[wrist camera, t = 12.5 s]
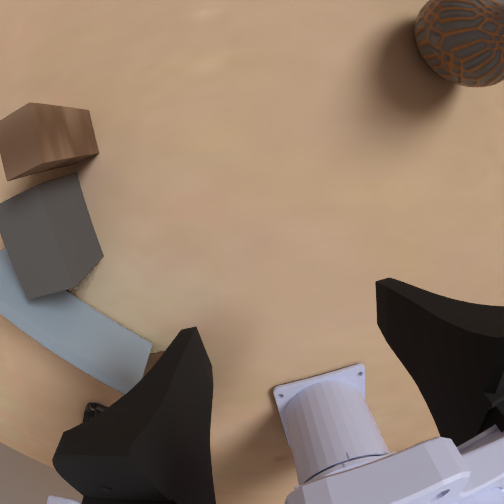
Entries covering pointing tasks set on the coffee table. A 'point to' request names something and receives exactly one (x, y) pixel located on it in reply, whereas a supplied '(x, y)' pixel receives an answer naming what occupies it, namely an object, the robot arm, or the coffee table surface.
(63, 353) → the door
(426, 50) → the vase
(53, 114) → the door frame
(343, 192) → the coffee table surface
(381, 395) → the coffee table surface
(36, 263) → the block
